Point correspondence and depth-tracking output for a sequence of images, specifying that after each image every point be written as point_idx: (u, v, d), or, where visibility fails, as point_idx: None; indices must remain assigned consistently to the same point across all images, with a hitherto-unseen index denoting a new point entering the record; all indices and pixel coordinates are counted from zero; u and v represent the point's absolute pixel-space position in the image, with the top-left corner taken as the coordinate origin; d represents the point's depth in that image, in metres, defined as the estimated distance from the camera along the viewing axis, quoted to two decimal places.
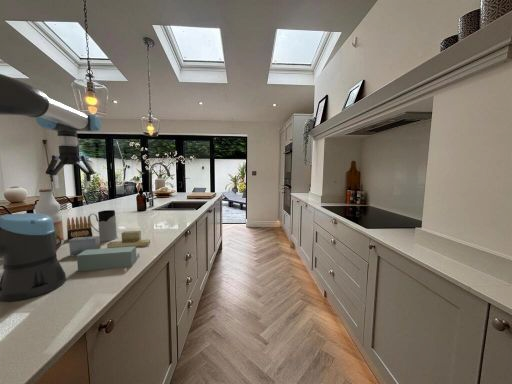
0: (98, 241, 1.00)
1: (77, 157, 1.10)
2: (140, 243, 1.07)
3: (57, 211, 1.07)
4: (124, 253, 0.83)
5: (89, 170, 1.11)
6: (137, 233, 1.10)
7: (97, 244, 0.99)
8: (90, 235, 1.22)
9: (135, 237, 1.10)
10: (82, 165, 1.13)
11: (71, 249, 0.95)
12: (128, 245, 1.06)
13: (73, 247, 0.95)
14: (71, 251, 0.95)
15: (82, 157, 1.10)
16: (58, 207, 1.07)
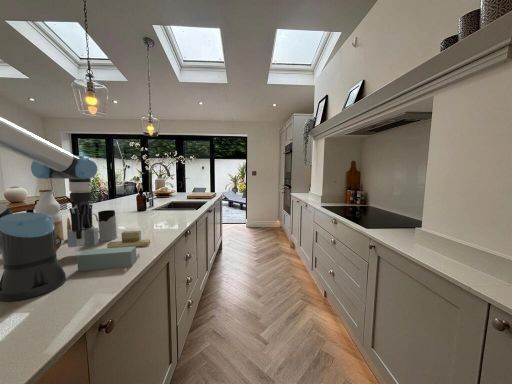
0: (96, 233, 0.99)
1: (74, 207, 0.92)
2: (140, 243, 1.07)
3: (57, 211, 1.07)
4: (124, 253, 0.83)
5: None
6: (137, 233, 1.10)
7: (95, 236, 0.98)
8: None
9: (135, 237, 1.10)
10: (81, 217, 0.94)
11: (69, 240, 0.94)
12: (128, 245, 1.06)
13: (71, 238, 0.95)
14: (69, 242, 0.95)
15: None
16: (58, 207, 1.07)
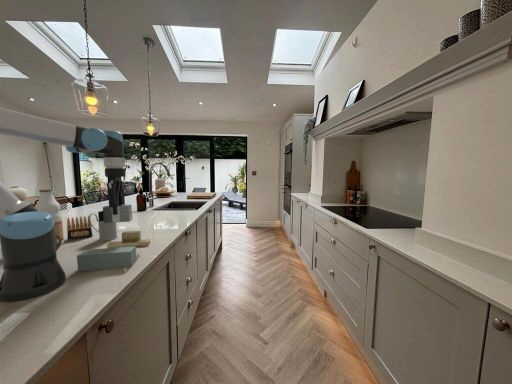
0: (130, 209, 0.99)
1: (110, 182, 0.92)
2: (140, 243, 1.07)
3: (57, 211, 1.07)
4: (124, 253, 0.83)
5: (109, 202, 0.92)
6: (137, 233, 1.10)
7: (130, 212, 0.98)
8: (90, 235, 1.22)
9: (135, 237, 1.10)
10: (117, 193, 0.94)
11: (105, 216, 0.94)
12: (128, 245, 1.06)
13: (106, 214, 0.95)
14: (105, 218, 0.95)
15: None
16: (58, 207, 1.07)
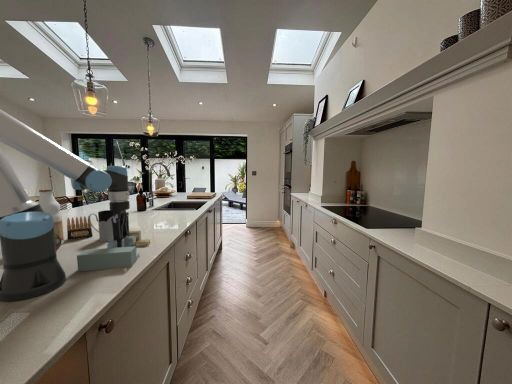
0: (135, 240, 1.00)
1: (114, 216, 0.93)
2: (140, 243, 1.07)
3: (57, 211, 1.07)
4: (124, 253, 0.83)
5: None
6: (137, 233, 1.10)
7: (134, 243, 0.99)
8: (90, 235, 1.22)
9: None
10: (121, 226, 0.95)
11: None
12: None
13: (111, 247, 0.96)
14: None
15: None
16: (58, 207, 1.07)
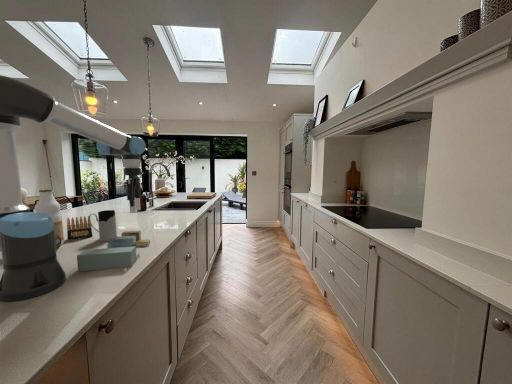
0: (135, 240, 1.00)
1: (129, 179, 1.11)
2: (140, 243, 1.07)
3: (57, 211, 1.07)
4: (124, 253, 0.83)
5: None
6: (137, 233, 1.10)
7: (134, 243, 0.99)
8: (90, 235, 1.22)
9: None
10: (134, 188, 1.12)
11: None
12: None
13: (111, 247, 0.96)
14: None
15: None
16: (58, 207, 1.07)
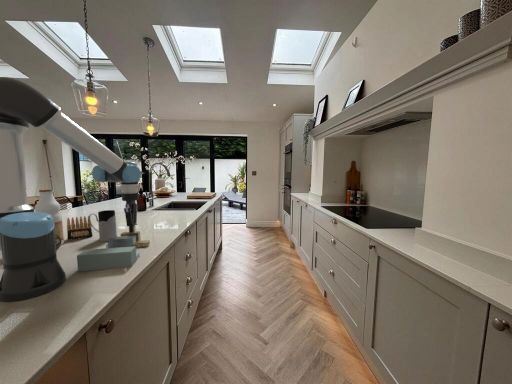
0: (135, 241, 1.00)
1: (126, 206, 1.08)
2: (139, 244, 1.06)
3: (57, 211, 1.07)
4: (124, 253, 0.83)
5: (126, 222, 1.09)
6: (137, 233, 1.09)
7: (134, 243, 0.99)
8: (90, 235, 1.22)
9: None
10: (132, 215, 1.10)
11: None
12: None
13: (111, 247, 0.96)
14: None
15: None
16: (58, 207, 1.07)
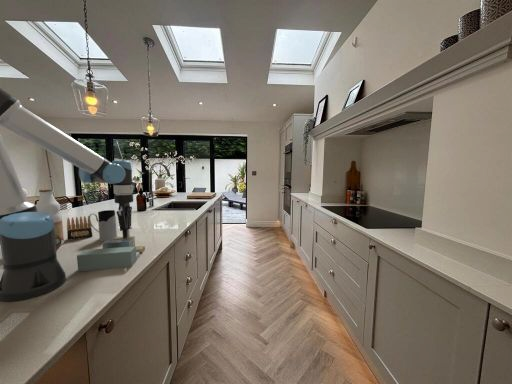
0: (131, 244, 0.95)
1: (119, 209, 0.99)
2: None
3: (57, 211, 1.07)
4: (124, 253, 0.83)
5: (120, 226, 1.00)
6: None
7: None
8: (90, 235, 1.22)
9: None
10: (126, 218, 1.02)
11: None
12: None
13: None
14: None
15: None
16: (58, 207, 1.07)
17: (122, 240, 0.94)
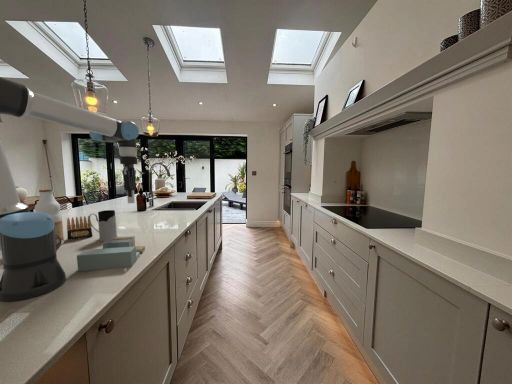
0: (131, 244, 0.96)
1: (124, 168, 1.06)
2: None
3: (57, 211, 1.07)
4: (124, 253, 0.83)
5: (125, 185, 1.07)
6: None
7: None
8: (90, 235, 1.22)
9: None
10: (131, 178, 1.09)
11: None
12: None
13: None
14: None
15: None
16: (58, 207, 1.07)
17: (122, 240, 0.94)
